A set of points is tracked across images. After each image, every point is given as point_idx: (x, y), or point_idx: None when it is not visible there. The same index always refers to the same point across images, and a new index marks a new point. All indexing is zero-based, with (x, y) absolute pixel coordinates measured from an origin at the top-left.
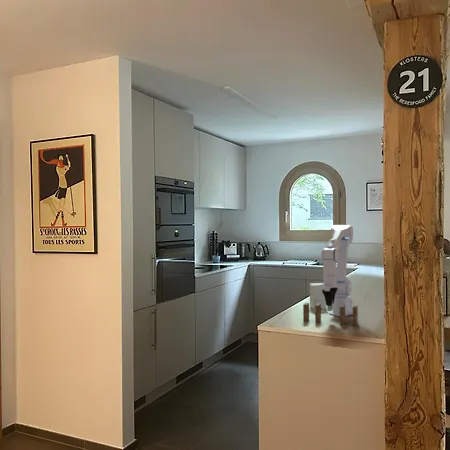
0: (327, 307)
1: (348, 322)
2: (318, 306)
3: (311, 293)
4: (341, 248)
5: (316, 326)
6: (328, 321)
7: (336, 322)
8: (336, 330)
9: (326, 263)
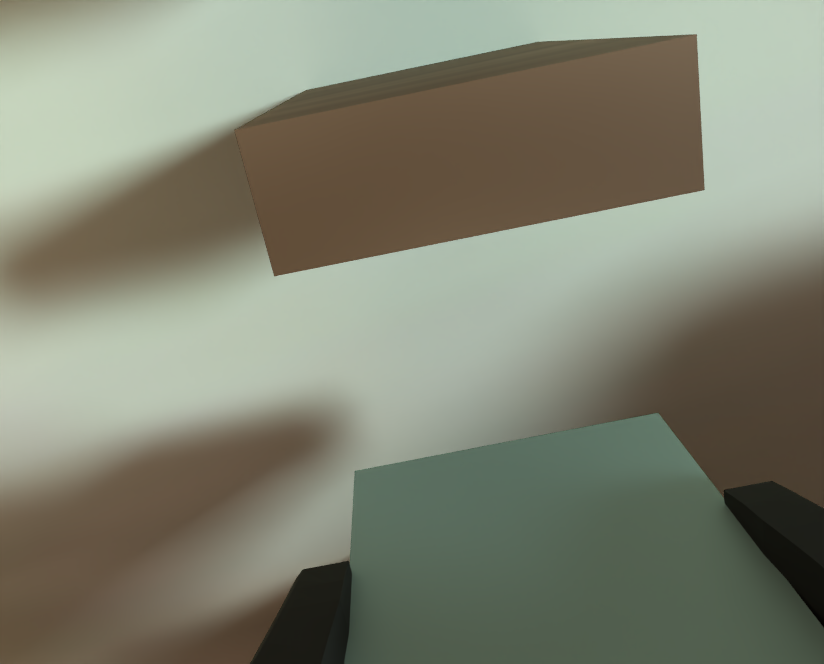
0: (352, 534)
1: None
2: (277, 257)
3: None
4: None
5: (33, 241)
6: (562, 278)
7: (549, 428)
8: (16, 612)
9: None
